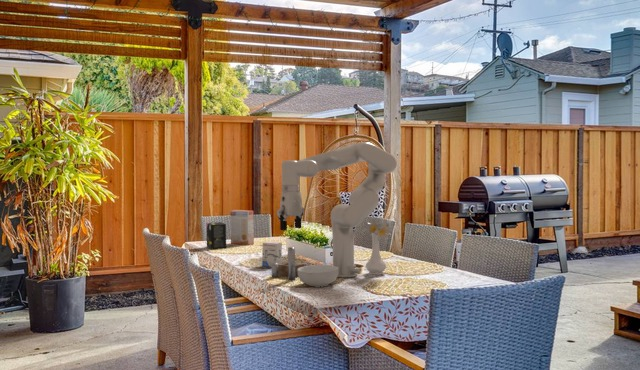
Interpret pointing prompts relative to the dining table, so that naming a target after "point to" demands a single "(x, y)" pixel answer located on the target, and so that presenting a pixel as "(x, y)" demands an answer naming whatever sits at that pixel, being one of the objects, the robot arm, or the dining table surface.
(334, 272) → the cereal bowl
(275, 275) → the short steel pin
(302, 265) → the walnut hole block
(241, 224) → the cracker box
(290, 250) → the long steel pin
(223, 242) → the tampon box
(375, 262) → the flower vase
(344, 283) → the dining table surface
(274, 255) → the ink box
